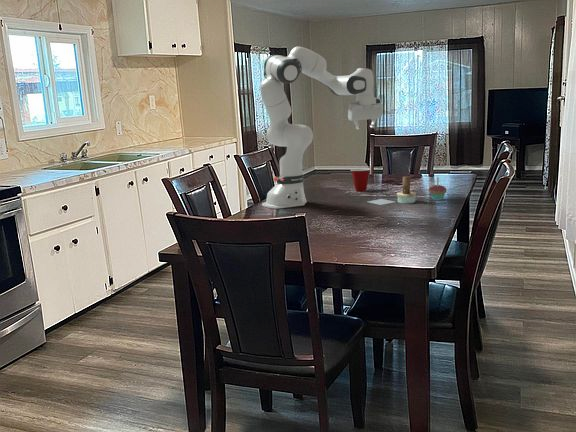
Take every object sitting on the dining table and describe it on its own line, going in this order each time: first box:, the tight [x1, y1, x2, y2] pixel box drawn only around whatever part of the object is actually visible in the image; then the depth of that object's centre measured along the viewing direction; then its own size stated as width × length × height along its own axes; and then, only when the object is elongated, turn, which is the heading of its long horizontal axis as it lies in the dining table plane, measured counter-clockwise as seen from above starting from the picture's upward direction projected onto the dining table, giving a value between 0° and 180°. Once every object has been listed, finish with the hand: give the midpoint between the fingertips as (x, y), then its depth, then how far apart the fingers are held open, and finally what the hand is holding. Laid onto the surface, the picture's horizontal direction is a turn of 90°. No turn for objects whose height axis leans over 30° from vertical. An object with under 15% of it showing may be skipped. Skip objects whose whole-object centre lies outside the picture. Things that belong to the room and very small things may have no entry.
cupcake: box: [428, 176, 448, 201], centre depth 277 cm, size 9×8×12 cm
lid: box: [396, 176, 417, 197], centre depth 273 cm, size 9×9×9 cm
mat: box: [367, 198, 396, 206], centre depth 277 cm, size 10×10×1 cm
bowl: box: [397, 196, 416, 204], centre depth 275 cm, size 8×8×4 cm
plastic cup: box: [350, 168, 371, 192], centre depth 308 cm, size 11×11×12 cm
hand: (365, 128), depth 291 cm, fingers open, 8 cm apart
